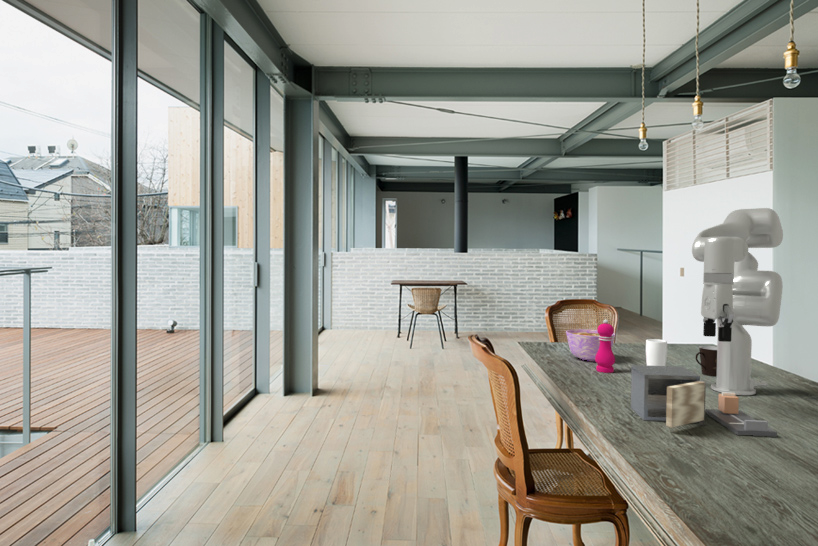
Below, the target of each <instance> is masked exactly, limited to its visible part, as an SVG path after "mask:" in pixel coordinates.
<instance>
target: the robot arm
mask: <svg viewBox="0 0 818 546" xmlns="http://www.w3.org/2000/svg"><path fill="white" fill-rule="evenodd" d="M783 237H784V231H783V227H782V223H781V219H780V218H779V215H778V213H777V212H776V211H775V210H774V209H772V208H770V207H760V208H759V207H758V208H741V209H735V210H733V211H731V212H729V213H728V214H727V216H726V218H725V219H724V220H723V222H722V223H720V224H716V225H714V226H712V227H708V228H706V229H703V230H701V231H700V232H699V233H698V234H697V236H696V237H695V239H694V241H693V243H692V247H691V253H692V257H693V259H695V260H696V261H697V262H700V263H703V278H702V279H703V281H702V282H703V289H702V295H701V307H700V314H701V316H702V317H703V319H702V321H703V337H716V334H717V344H716V345H717V346H716V347H717V376H716V382H715V383H714V382H713V383H711V385H710V389H711V390H714V391H715V392H718V393H722V392H726V393H735V396H754V395H755V394H756V393H757V389H755V388H757V387H759V388H767V386H768V383H767V381H766V380H758V379H754V378H752V377H751V375H752V373H751V371H752V346H753V345H752V344H753V343H752V336H751V335H750V334H749V332H748V331H747V330H746V328H745V327H744V326H751V327H752V326H754V327H774V326H775V325H777V323H778V322H779V318H780V313H781V306H782V296H783V279H782V277H781V275H780V274H779V273H778V272H777V271H773V270H758V269H759V261H758V260H757V259H756V257H755V256H754V255H753V254H752V253H750V252H749V249H761V248H765V249H768V248H769V249H770V248H771V249H772V248H773V249H774V248H777V247H779V246H780V245H781V243H782V242H783ZM716 326H717V327H716ZM716 332H717V333H716Z"/></svg>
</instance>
